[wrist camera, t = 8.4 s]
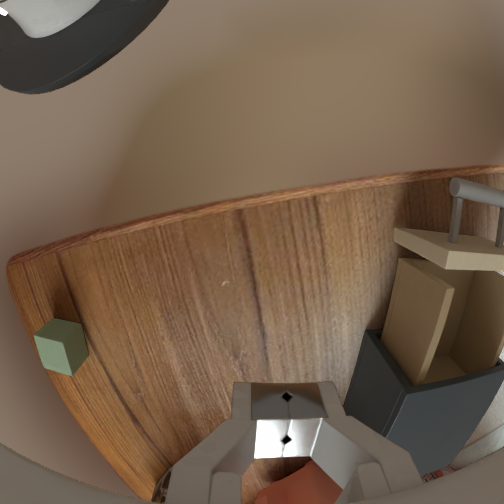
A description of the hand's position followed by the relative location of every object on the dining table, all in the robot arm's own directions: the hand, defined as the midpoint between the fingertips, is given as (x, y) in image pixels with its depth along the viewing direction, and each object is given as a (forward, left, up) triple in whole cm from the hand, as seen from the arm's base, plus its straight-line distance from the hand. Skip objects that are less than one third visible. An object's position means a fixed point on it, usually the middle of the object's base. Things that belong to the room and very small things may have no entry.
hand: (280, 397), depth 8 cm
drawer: (+1, +17, -15) cm, 22 cm away
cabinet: (+14, +17, -16) cm, 27 cm away
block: (+10, -19, -16) cm, 27 cm away
